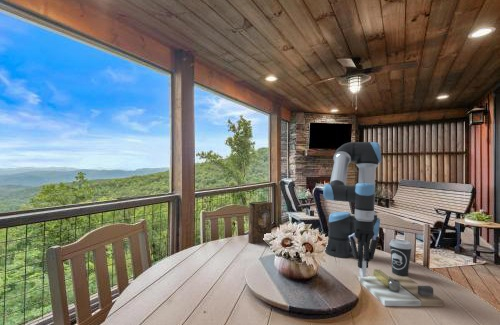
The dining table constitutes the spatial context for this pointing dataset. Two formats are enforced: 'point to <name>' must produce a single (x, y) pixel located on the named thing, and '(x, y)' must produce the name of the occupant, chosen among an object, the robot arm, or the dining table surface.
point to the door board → (401, 292)
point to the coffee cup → (400, 256)
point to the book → (259, 221)
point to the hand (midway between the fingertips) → (362, 275)
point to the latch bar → (387, 281)
